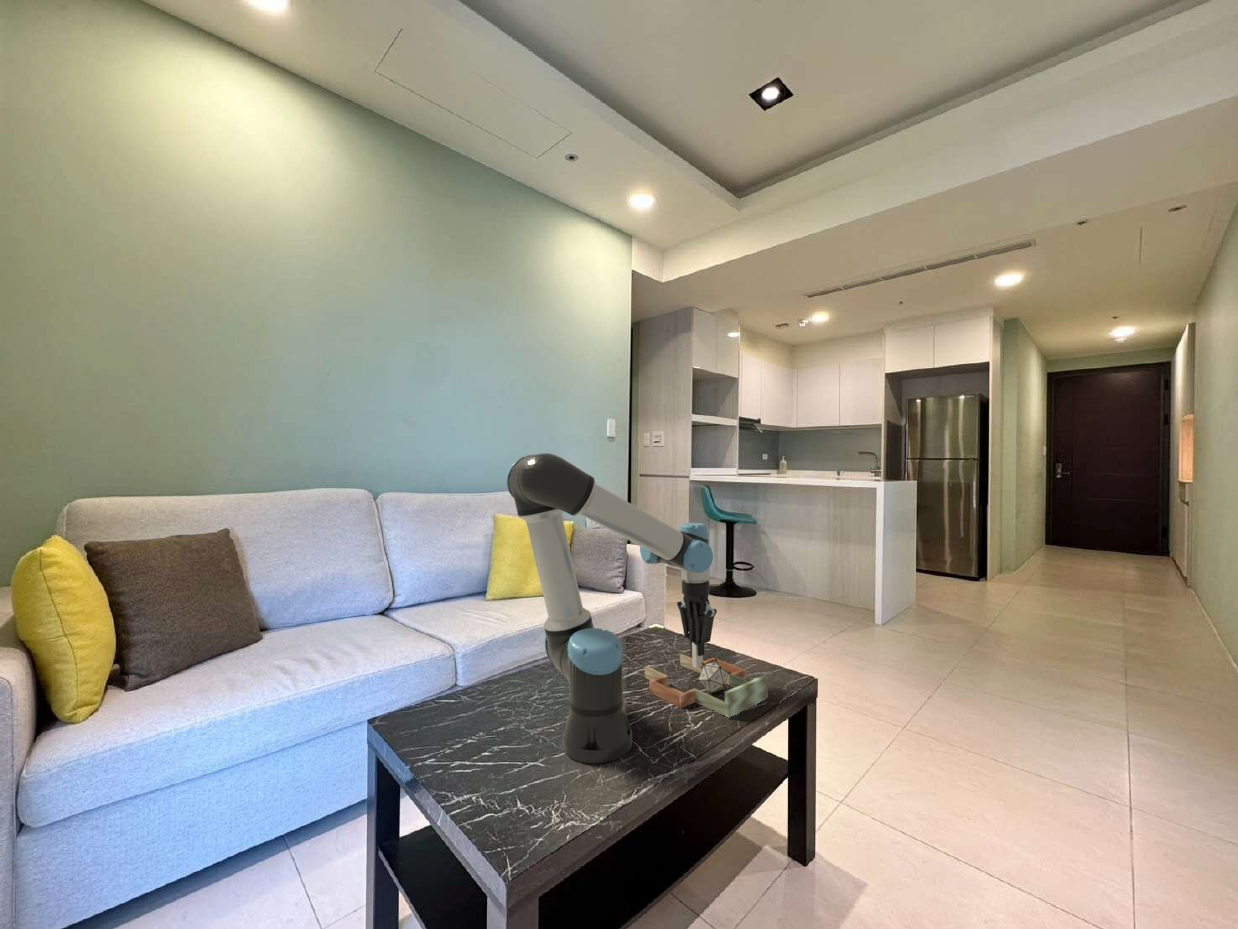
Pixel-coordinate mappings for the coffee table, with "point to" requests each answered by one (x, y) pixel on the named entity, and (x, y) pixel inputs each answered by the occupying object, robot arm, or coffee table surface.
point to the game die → (713, 676)
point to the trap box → (735, 698)
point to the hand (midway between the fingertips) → (697, 666)
